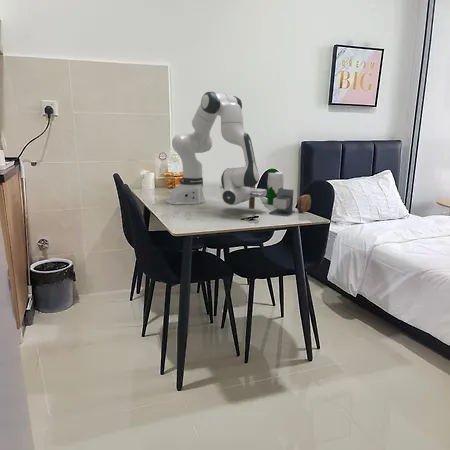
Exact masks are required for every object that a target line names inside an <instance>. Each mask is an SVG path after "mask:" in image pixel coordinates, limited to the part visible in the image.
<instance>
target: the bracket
mask: <svg viewBox="0 0 450 450" xmlns="http://www.w3.org/2000/svg"><path fill="white" fill-rule="evenodd" d="M294 191H295V190H294V189H291V188H289V189H288V188H283V189H278V197H276V198H274V199H273V204H272V207H273V208H274V210H272V211H269V212H268V214H269V215H274V216H283V217H289V216H291V215H292V214H294V213H296V211H295V210H293V208H294V207H293V205H294Z"/></svg>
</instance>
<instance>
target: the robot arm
mask: <svg viewBox="0 0 450 450" xmlns="http://www.w3.org/2000/svg"><path fill="white" fill-rule="evenodd" d="M242 108H243V103H242V100H241V99H240V98H239V97H238V96H235V95H231V94H228V93H222V92H215V91H205V93H204V94H203V96H202V98H201V100H200V104H199V106H198V107H197V109H196V111H195V113H194V115H193V118H192V120H191V126H192V128H193V129H194V132H192V133H185V132H184V133H179V134H176V135H174V136H173V138H172V141H171V144H172V145H171V146H172V148H173V150H174V151H175V152H176V153H177V154H178V156H179V158H180V160H181V164H182V177H177V178H176V180H177V182H179V184H178V185H177V186H176V187H174V188H173V189H172V190H171V191H170V192H169V193H170V194H169V198H166V200H165V202H166V203H167V204H169V205H175V206H176V205H177V206H179V205H200V204H202V203H204V202H206V200H205V197H204V191H203V186H204V181H203V180H204V179H203V163H202V162H201V161H199V160H198V158H197V157H196V154H200V153H203V154H204V153H207V152H209V151H210V150H211V149H212V147H213V140H212V137H211V136H210V135H211V134H210V133H211V129H212V127H213V126H214V123H215V121H216V119H217V118H218V117H220V132H221V136H222V138H223V139H224V141H225V142H227V143H229V144H232V145H236V146H239V147H241V149H242V152H243V157H244V161H245V162H244V163H245V166H240V167H232V168H231V167H230V168H229V167H228V168H225V169H224V170H223V172H222V174H221V177H220V178H221V179H220V180H221V181H220V182H221V186H222V189H223V192H222V201H223V202H224V203H225V204H227V205H229V206H236V205H239V204H241V203H245V202H247V201H249V199H250V197H255V198H265V197H267V189H265V188H256V185H257V184H258V183H259V181H260V174H259V173H260V172H259V170H258V167H257V162H256V159H255V154H254V152H255V151H254V147H253V143H252V138H251V136H250V135H249V134H248V133H247V132H246V131H245V128H244V118H243V117H244V116H243V111H242ZM254 186H255V188H250V187H254Z"/></svg>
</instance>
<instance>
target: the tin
mask: <svg viewBox="0 0 450 450" xmlns="http://www.w3.org/2000/svg"><path fill="white" fill-rule="evenodd" d="M296 205H297V212H299V213H305V212H308V211H309V210H310V209H311V206H312V197H311V195H310V194H304V195H301V196H299V197H298V199H297V201H296Z"/></svg>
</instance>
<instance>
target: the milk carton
mask: <svg viewBox="0 0 450 450" xmlns="http://www.w3.org/2000/svg"><path fill="white" fill-rule="evenodd" d="M267 175H268V176H267V186H266V187H267V189H266V190H267V195H266V199H267V205H273V199H274V198H276V197H278V189H284V172H283V171H282V172H281V171H277V169H276V168H268V173H267Z"/></svg>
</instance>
